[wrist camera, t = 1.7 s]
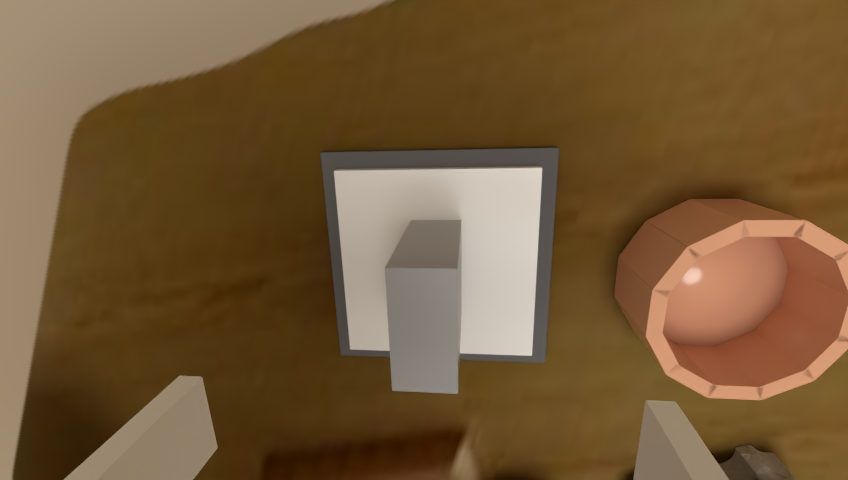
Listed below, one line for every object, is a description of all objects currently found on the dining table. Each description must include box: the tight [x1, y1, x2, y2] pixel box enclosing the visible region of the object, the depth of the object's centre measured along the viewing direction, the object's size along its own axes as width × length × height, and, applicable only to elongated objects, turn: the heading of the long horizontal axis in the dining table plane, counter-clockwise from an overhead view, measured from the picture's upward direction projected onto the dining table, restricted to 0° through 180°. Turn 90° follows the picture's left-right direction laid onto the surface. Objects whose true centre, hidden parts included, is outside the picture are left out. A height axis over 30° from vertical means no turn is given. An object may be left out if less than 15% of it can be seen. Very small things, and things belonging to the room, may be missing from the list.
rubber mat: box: [321, 147, 559, 363], centre depth 26 cm, size 14×14×1 cm
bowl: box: [614, 199, 848, 400], centre depth 23 cm, size 10×10×5 cm
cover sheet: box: [334, 166, 542, 394], centre depth 22 cm, size 12×12×9 cm
